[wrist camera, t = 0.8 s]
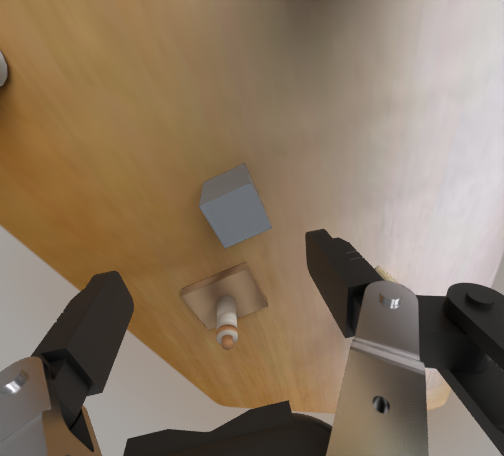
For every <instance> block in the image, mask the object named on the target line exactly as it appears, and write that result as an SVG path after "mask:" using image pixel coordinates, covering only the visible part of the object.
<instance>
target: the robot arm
mask: <svg viewBox="0 0 504 456" xmlns="http://www.w3.org/2000/svg"><path fill="white" fill-rule="evenodd" d="M305 238H306V257H307V266H308V270H309V273H310V275H311V277H312V279H313V281H314V283H315V284H316V286H317V288H318V290H319V292H320V293H321V295H322V297H323V299H324V301H325V302H326V304H327V306H328V308H329V310H330V312H331V313H332V315H333V317H334V319H335V321H336V322H337V324H338V326H339V328H340V330H341V331H342V333H343V335H344V337H345V338H349V337H353V336H355V338H354V339H353V340H352V343H351V347H350V351H349V356H348V360H347V365H346V369H345V374H344V378H343V382H342V387H341V391H340V396H339V400H338V405H337V409H336V414H335V418H334V423H333V427H332V426H331V425H329V424H327V423H325V422H323V421H322V420H319V419H317V418H314V417H312V416H308V415H304V414H298V413H292V412H291V408H290V404H289V400H288V401H284V402H280V403H276V404H271V405H267V406H263V407H259V408H255V409H250V410H248V411H247V412H245V413H243V414H241V415H240V416H238V417H236V418H234V419H233V420H231V421H229V422H227V423H225V424H224V425H222V426H220V427H218V428H216V429H215V430H213V431H211V432H195V431H185V430H171V429H167V430H163V431H159V432H154V433H150V434H146V435H142V436H138V437H133V438H129V439H128V440H127V443H126V447H125V451H124V455H123V456H429V454H428V430H427V404H426V378H425V368H435V369H437V370H438V371H439V373H440V374H441V375H442V377H443V378H444V379H445V381H446V382H447V383H448V384H449V386H450V387H451V388H452V390H453V391H454V392H455V393H456V395H457V396H458V398H459V399H460V400H461V401H462V403H463V404H464V405H465V407H466V408H467V409H468V411H469V412H470V413H471V415H472V416H473V417H474V419H475V420H476V421H477V422H478V424H479V425H480V426H481V428H482V429H483V430H484V431H485V433H486V434H487V436H488V437H489V438H490V440H491V441H492V442H493V444H494V445H495V446H496V447H497V449H498V450H499V451H500V453H501V454H502V455H503V456H504V295H502V294H501V293H499V292H497V291H495V290H493V289H491V288H488V287H485V286H482V285H478V284H473V283H458V284H454V285H452V286H451V287H449V289H448V291H447V295H446V296H421V295H415V294H414V293H413V292H412V291H411V290H410V289H408V288H407V287H405V286H403V285H401V284H398V283H395V282H391V281H385V280H384V279H383V278H382V277H381V275H380V274H379V273H378V272H377V271H376V270H375V269H374V268H373V267H372V266H371V265H370V264H369V263H368V262H367V261H366V260H365V259H364V258H362V256H361V255H360V254H359V252H357V251H356V249H355V248H354V247H353V246H352V245H351V244H350V243H349V242H347V241H345V240H343V239H341V238H339V237H338V238H332V237H331V236H330V235H329V234H328V232H327V231H326V230H325V229H320V230H315V231H310V232H306V236H305ZM133 310H134V304H133V299H132V297H131V295H130V293H129V291H128V289H127V287H126V285H125V283H124V281H123V280H122V278H121V276H120V274H119V273H118V272H117V271H111V272H106V273H101V274H96V275H94V276H93V277H92V279H91V280H90V282H89V283H88V285H87V286H86V288H85V289H83V290H82V291H81V292H80V293H79V294H77V295H76V296H75V297H74V298H73V299H72V300H71V301H70V302H69V304H68V305H67V306H66V308H65V309H64V312H63V313H61V315H60V316H59V318H58V319H57V322H55V323H54V325H53V326H52V328H51V329H50V330H49V332H48V333H47V334H46V336H45V337H44V339H43V340H42V341H41V343H40V344H39V345H38V347H37V348H36V350H35V351H34V353H33V354H32V355H31V357H27V358H24V359H21V360H19V361H17V362H15V363H13V364H11V365H10V366H8V367H7V368H5V369H4V370H2V371H1V372H0V456H102V454H101V451H100V448H99V445H98V442H97V439H96V436H95V433H94V430H93V427H92V424H91V421H90V418H89V415H88V412H87V410H86V408H85V407H84V406H83V403H84V401H85V398H86V396H90V395H94V394H99V393H102V392H103V390H104V387H105V384H106V381H107V379H108V376H109V374H110V371H111V368H112V366H113V363H114V361H115V358H116V356H117V353H118V350H119V348H120V345H121V343H122V340H123V337H124V335H125V332H126V330H127V327H128V324H129V322H130V319H131V316H132V314H133Z"/></svg>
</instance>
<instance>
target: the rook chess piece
mask: <svg viewBox="0 0 504 456" xmlns="http://www.w3.org/2000/svg"><path fill="white" fill-rule="evenodd" d="M6 78H7V64H6V62H5V60H4V57H3V55H2V53H1V51H0V87H1V86H2V85H4V82H5V80H6Z"/></svg>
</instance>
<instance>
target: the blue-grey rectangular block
mask: <svg viewBox="0 0 504 456" xmlns="http://www.w3.org/2000/svg"><path fill="white" fill-rule="evenodd" d="M199 207H200V209H201V211H202V212H203V214H204V215H205V217H206V219H207V220H208V222H209V224H210V225H211V227H212V228H213V230H214V232H215V233H216V235H217V237H218V238H219V240H220V241H221V243H222V245H223V246H224V248H227V247H230V246H232V245H234V244H237V243H239V242H241V241H243V240H246V239H248V238H250V237H253V236H255V235H257V234H260V233H262V232H264V231H267V230H269V229H271V228H272V226H271V224H270V221H269V218H268V216H267V213H266V210H265V208H264V205H263V202H262V200H261V198H260V196H259V193H258V191H257V189H256V187H255V185H254V182H253V180H252V178H251V176H250V174H249V171H248V169H247V167H246V165H245V163H244V164H242V165H240V166H237V167H235V168H233V169H231V170H229V171H227V172H225V173H223V174H220V175H218V176H216V177H214V178H212V179H210V180H208V181H206V182H203V187H202V193H201V198H200V204H199Z"/></svg>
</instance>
